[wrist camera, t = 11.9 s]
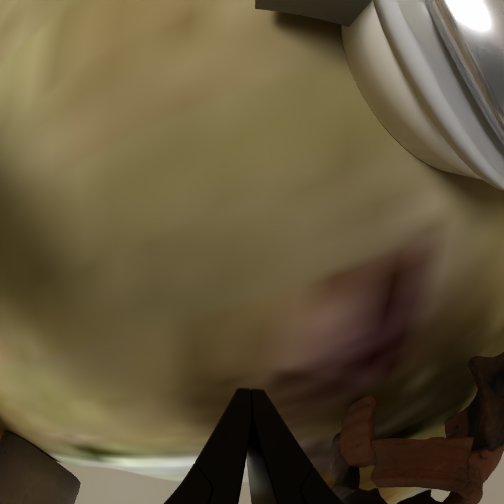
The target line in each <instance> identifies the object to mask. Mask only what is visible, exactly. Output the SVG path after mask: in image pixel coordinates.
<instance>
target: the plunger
mask: <svg viewBox="0 0 504 504" xmlns="http://www.w3.org/2000/svg"><path fill="white" fill-rule="evenodd" d="M425 1H426V4H427V6H428V8H429V11H430V13H431V15H432V17H433V19H434V21H435V23H436V26H437V28H438V30H439V32H440V34H441V36H442V38H443V40H444V42H445V44H446V46H447V48H448V50H449V52H450V54H451V56H452V58H453V60H454V62H455V63H456V65H457V67H458V69H459V71H460V73H461V75H462V77H463V79H464V80H465V82H466V84H467V86H468V88H469V89H470V91H471V93H472V95H473V96H474V98H475V100H476V102H477V104H478V106H479V107H480V109H481V110H482V112H483V114H484V115H485V117H486V119H487V121H488V122H489V124H490V126H491V127H492V129H493V130H494V132H495V133H496V135H497V136H498V138H499V139H500V141H501V142H502V144H503V145H504V0H425Z"/></svg>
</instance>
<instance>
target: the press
mask: <svg viewBox="0 0 504 504" xmlns="http://www.w3.org/2000/svg"><path fill="white" fill-rule="evenodd" d="M255 9H262V10H270V11H278V12H284V13H291V14H296V15H302V16H307V17H312V18H316V19H321V20H325V21H329V22H333V23H337V24H340V25H341V34H342V40H343V47H344V50H345V54H346V58H347V61H348V64H349V67H350V69H351V72H352V74H353V77H354V79H355V81H356V83H357V85H358V87H359V89H360V91H361V93H362V95H363V97H364V98H365V100H366V102H367V103H368V105H369V107H370V108H371V110H372V111H373V113H374V114H375V115H376V117H377V118H378V119H379V121H380V122H381V124H382V125H383V126H384V127H385V128H386V129H387V130H388V132H389V133H390V134H391V135H392V136H393V137H394V138H395V139H396V140H397V141H398V142H399V143H400V144H401V145H402V146H403V147H404V148H405V149H406V150H408V151H409V152H410V153H412V154H413V155H414V156H415V157H417V158H418V159H420V160H422V161H423V162H425V163H426V164H428V165H430V166H432V167H435V168H437V169H439V170H442V171H446V172H449V173H454V174H458V175H463V176H467V177H472V178H476V179H480V180H484V181H485V182H487V183H488V184H490V185H492V186H493V187H495V188H497V189H499V190H502V191H504V145H503V144H502V142H501V141H500V139H499V138H498V136H497V135H496V133H495V132H494V130H493V129H492V127H491V126H490V124H489V122H488V121H487V119H486V117H485V115H484V114H483V112H482V110H481V109H480V107H479V106H478V104H477V102H476V100H475V98H474V96H473V95H472V93H471V91H470V89H469V88H468V86H467V84H466V82H465V80H464V79H463V77H462V75H461V73H460V71H459V69H458V67H457V65H456V63H455V62H454V60H453V58H452V56H451V54H450V52H449V50H448V48H447V46H446V44H445V42H444V40H443V38H442V36H441V34H440V32H439V30H438V28H437V26H436V23H435V21H434V19H433V17H432V15H431V13H430V11H429V8H428V6H427V4H426V1H425V0H255Z"/></svg>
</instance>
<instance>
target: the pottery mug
mask: <svg viewBox="0 0 504 504" xmlns="http://www.w3.org/2000/svg"><path fill="white" fill-rule="evenodd" d="M468 367H469V369H470V370H471V372H472V374H473V375H474V378H475V381H476V385H477V387H478V390H477V393H476V396H475V398H474V399H473V401H472V402H471V404H470V405H469V406H468V407H466V408H465V409H464V410H463V411H461V412H460V413H458V414H457V415H456V416H454V417H452V418H450V419H449V420H447V421H446V422H445V423H444V424H445V433H446V438H444V437H434V438H430V439H427V440H415V439H407V438H388V439H376V436H375V431H374V424H373V422H374V415H375V409H376V404H377V402H376V400H375V399H374V398H373V397H372V396H367V397H364V398H362V399H360V400H358V401H356V402H354V403H353V404H352V405H350V407H349V409H348V411H347V415H346V417H345V418H344V419H343V420H342V431H341V433H338V434H336V436H335V437H334V439H333V443H332V447H331V454H330V469H331V473H332V475H333V478H334V481H335V482H334V484H333V486H332V487H331V490H332V491H333V492H334V493H335V494H336V495H337V496H338V497H339V498H340V499H341V500H342V501H343V502H344V503H345V504H387V503H386V502H385V501H384V499H383V498H382V497H381V496H380V493H379V490H378V488H374V489H372V490H369V491H367V490H362V489H360V488H359V483H360V474H359V473H360V472H359V467H366V466H369V465H374V466H375V467H374V469H373V471H372V474H371V480H372V481H373V482H374V483H375V485H376V486H377V487H422V488H431V489H440V490H445V491H451V492H450V494H449V496H448V497H447V498H446V499H445V500H444V501H443V502H438V501H435V500H434V499H433V498H432V497H431V490H427V491H424V492H422V493H419V494H417V495H415V496H413V497H410V498H407V499H405V500H402V501H400V502H398V503H397V504H478V503H479V502H480V500H481V498H482V495H483V491H482V487H483V483H484V482H485V481H486V480H487V479H488V477H489V476H490V474H491V473H492V472H493V471H494V469H495V468H496V466H497V465H498V463H499V461H500V459H501V456H502V454H503V451H504V352H503V353H502V354H500V355H498V356H496V357H482V356H475V357H472V358H470V360H469V362H468Z"/></svg>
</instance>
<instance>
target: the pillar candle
mask: <svg viewBox="0 0 504 504" xmlns="http://www.w3.org/2000/svg"><path fill="white" fill-rule="evenodd" d="M79 488H80V481H79V480H78V479H77V478H76V477H75V476H74V475H73V474H72V473H71V472H69V471H68V470H67V469H65V468H64V467H63V466H61V465H60V464H58V463H57V462H56V461H54V460H53V459H51V458H50V457H48V456H47V455H45V454H44V453H43V452H41V451H40V450H39V449H37V448H36V447H34V446H33V445H31V444H30V443H28V442H27V441H25V440H23V439H22V438H20V437H19V436H16V435H14V434H12V433H8V432H6V431H5V433H4V435H3V437H2V438H1V440H0V504H74V503H75V500H76V497H77V495H78V492H79Z"/></svg>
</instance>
